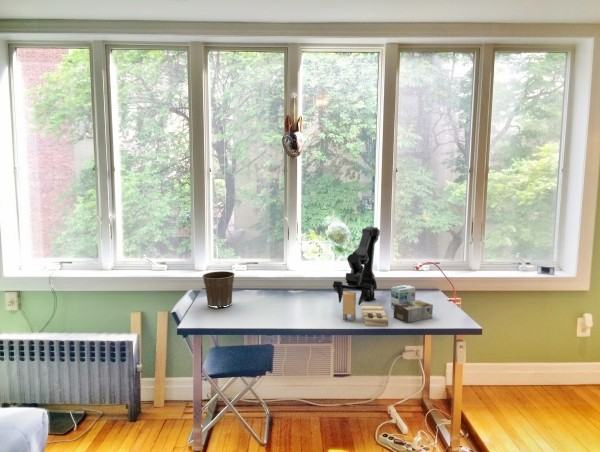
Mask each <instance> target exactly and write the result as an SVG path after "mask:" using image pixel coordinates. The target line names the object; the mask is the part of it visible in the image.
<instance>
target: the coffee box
mask: <svg viewBox="0 0 600 452" xmlns="http://www.w3.org/2000/svg"><path fill="white" fill-rule="evenodd" d="M433 309H434V304H432V303H429V302H426V301H424V300H421V299H415V301H410V302H405V303H400V304H395V305H394V309H393V318H395V319H397V320H399V321H401V322H404V323H405V324H409V323H412V322H413V323H414V322H417V321H421V320H426V319H427V320H428V319H430V318H433Z"/></svg>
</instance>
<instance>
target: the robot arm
mask: <svg viewBox="0 0 600 452" xmlns="http://www.w3.org/2000/svg"><path fill="white" fill-rule="evenodd" d="M361 230H362V231H361V233H362V234H361V238H360V241H359V244H358V247H357V248H356V249H355V250H354V251H352V253H351V254H349V255H348V256H347V263H348V266H349V268H350V269H351V270H350V272H346V273H345V278H344V279H345V281H346V282H345V283H346V284H344V283H343V281H340V280H334V281H333V282H332V288H333V290H334V292H336V293H337V294H338V297H337V298H338V302H339V304H341V303H342V300H343V293H344V292H343V291H344V290H350V291H351V290H353V291H361V292H360V293H361V294H360V297H359V298H358V303H357V304H358V306H361V305H362V303H363V302H364V301H365V302H367V303H369V302H371V301H375V300H376V299H377V298H376V297H375V290H377V289H378V288H377V287H378V286H377V285H378V284H377V281H376V278H375V276H376V275H375V273H374V272H373V265H374V254H375V244H376V243H377V242H378V240H379V237H380V233H381V230H380V229H379V228H378V226H377V227H376V226H373V227H372V226H365V228H362V229H361Z"/></svg>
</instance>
